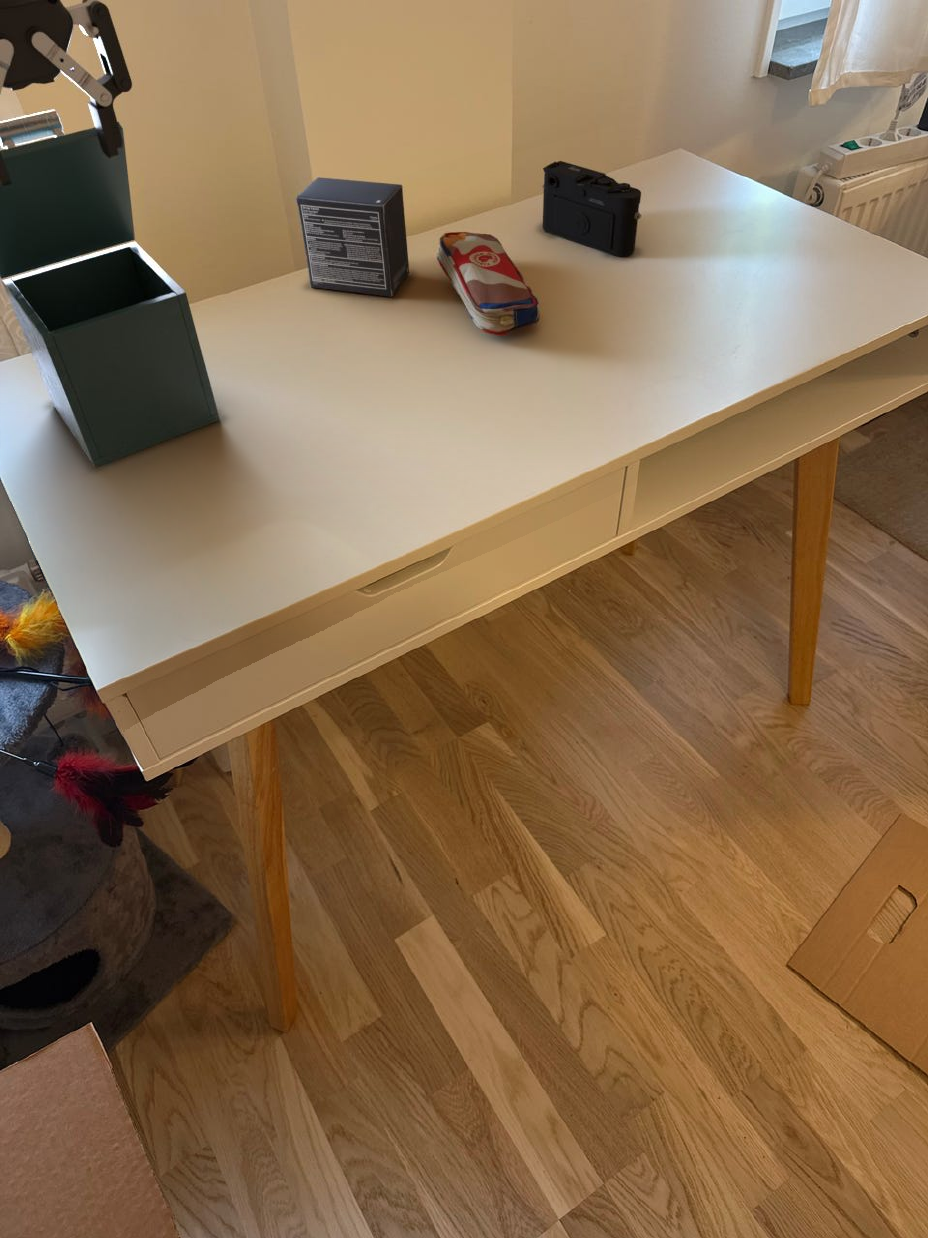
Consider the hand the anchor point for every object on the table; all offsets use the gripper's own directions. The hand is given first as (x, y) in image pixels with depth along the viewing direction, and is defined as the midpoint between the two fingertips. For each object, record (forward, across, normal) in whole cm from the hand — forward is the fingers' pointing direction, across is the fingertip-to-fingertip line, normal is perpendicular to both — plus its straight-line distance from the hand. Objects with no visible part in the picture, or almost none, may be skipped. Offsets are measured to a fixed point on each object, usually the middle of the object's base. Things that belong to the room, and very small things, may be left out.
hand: (58, 168), depth 73 cm
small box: (+24, -32, -12) cm, 42 cm away
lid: (+5, 0, -5) cm, 7 cm away
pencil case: (+24, -40, 0) cm, 47 cm away
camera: (+24, -60, -4) cm, 65 cm away
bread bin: (+24, 0, -2) cm, 24 cm away
